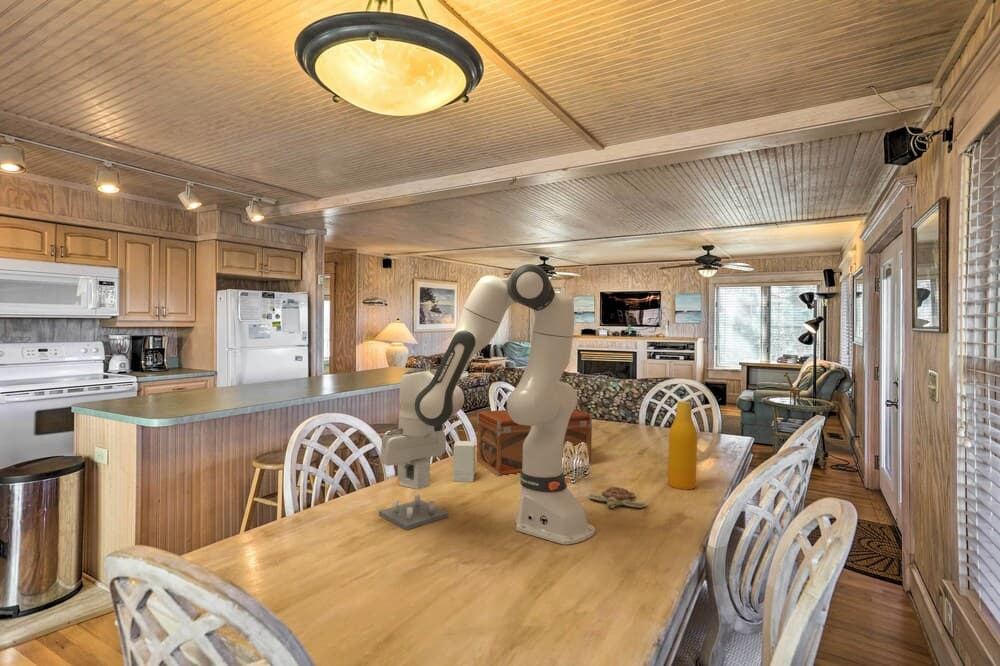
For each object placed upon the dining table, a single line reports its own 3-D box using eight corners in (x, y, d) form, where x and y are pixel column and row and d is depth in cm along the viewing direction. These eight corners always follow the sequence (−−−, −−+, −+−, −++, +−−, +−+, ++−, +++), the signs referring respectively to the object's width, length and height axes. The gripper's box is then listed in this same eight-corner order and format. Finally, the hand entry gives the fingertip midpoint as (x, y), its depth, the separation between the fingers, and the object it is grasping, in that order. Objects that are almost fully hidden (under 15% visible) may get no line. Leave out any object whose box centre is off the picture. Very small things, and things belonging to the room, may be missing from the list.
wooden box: (475, 462, 202) (476, 411, 202) (564, 452, 219) (565, 406, 219) (496, 477, 184) (497, 421, 183) (591, 465, 200) (593, 414, 200)
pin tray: (448, 516, 145) (448, 502, 145) (406, 530, 136) (406, 514, 136) (419, 503, 155) (419, 489, 155) (378, 515, 146) (379, 500, 146)
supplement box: (473, 482, 177) (474, 445, 177) (452, 481, 177) (452, 445, 177) (475, 475, 184) (475, 440, 184) (454, 475, 184) (455, 440, 184)
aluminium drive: (429, 486, 143) (430, 461, 143) (417, 489, 140) (417, 464, 140) (409, 477, 150) (409, 453, 150) (397, 480, 148) (397, 456, 147)
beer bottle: (691, 482, 182) (694, 400, 181) (699, 490, 172) (701, 405, 172) (664, 480, 182) (667, 399, 182) (670, 489, 173) (673, 404, 172)
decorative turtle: (580, 506, 157) (580, 490, 157) (596, 490, 172) (596, 475, 172) (639, 517, 149) (640, 500, 148) (651, 500, 163) (652, 485, 163)
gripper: (388, 433, 135) (387, 485, 136) (449, 423, 150) (448, 470, 150) (376, 429, 140) (375, 479, 140) (436, 420, 154) (435, 465, 155)
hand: (413, 475), depth 145 cm, fingers closed on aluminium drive, 4 cm apart
